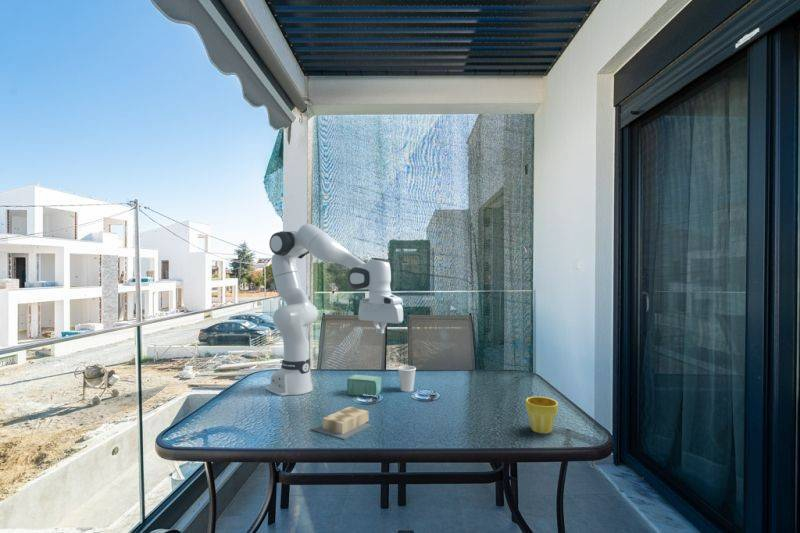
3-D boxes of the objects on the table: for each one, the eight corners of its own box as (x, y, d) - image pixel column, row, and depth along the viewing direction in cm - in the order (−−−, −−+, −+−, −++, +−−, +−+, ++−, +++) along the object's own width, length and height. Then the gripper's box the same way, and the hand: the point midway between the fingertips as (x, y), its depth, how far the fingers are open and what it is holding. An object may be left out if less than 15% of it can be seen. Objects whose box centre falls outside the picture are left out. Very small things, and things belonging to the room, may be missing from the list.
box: (376, 397, 175) (376, 380, 175) (346, 395, 178) (346, 378, 178) (381, 392, 182) (381, 375, 182) (353, 390, 185) (353, 374, 185)
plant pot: (561, 437, 133) (560, 407, 133) (527, 435, 135) (527, 405, 135) (554, 425, 144) (554, 397, 144) (524, 423, 145) (523, 395, 145)
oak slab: (349, 415, 152) (322, 428, 141) (349, 406, 152) (322, 418, 141) (368, 420, 147) (342, 434, 136) (368, 411, 147) (342, 423, 136)
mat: (311, 429, 140) (311, 428, 140) (339, 417, 152) (339, 416, 152) (344, 439, 132) (344, 438, 132) (371, 425, 144) (371, 424, 144)
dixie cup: (416, 392, 181) (416, 370, 181) (397, 392, 181) (397, 370, 181) (416, 387, 190) (415, 365, 190) (397, 387, 190) (397, 365, 190)
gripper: (354, 298, 167) (355, 332, 167) (396, 300, 156) (396, 336, 156) (364, 297, 172) (364, 330, 172) (405, 299, 161) (405, 334, 161)
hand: (380, 333), depth 164 cm, fingers closed
